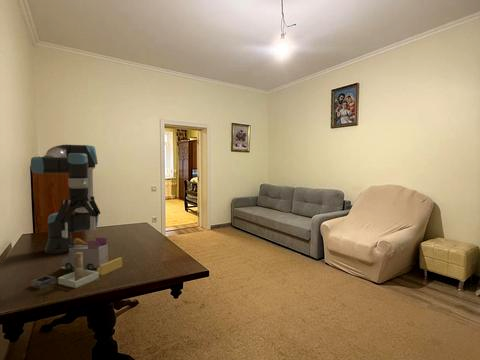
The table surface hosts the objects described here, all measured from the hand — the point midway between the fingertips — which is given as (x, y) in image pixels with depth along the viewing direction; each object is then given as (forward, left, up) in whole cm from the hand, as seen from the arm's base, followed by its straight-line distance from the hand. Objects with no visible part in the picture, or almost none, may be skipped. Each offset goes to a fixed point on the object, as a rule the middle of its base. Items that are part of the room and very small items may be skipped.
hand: (79, 233), depth 119 cm
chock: (+6, +11, -20) cm, 24 cm away
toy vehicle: (-7, +8, -21) cm, 23 cm away
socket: (-8, -11, -21) cm, 25 cm away
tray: (+3, -3, -21) cm, 21 cm away
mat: (-6, +11, -21) cm, 24 cm away
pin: (+3, -3, -20) cm, 20 cm away
